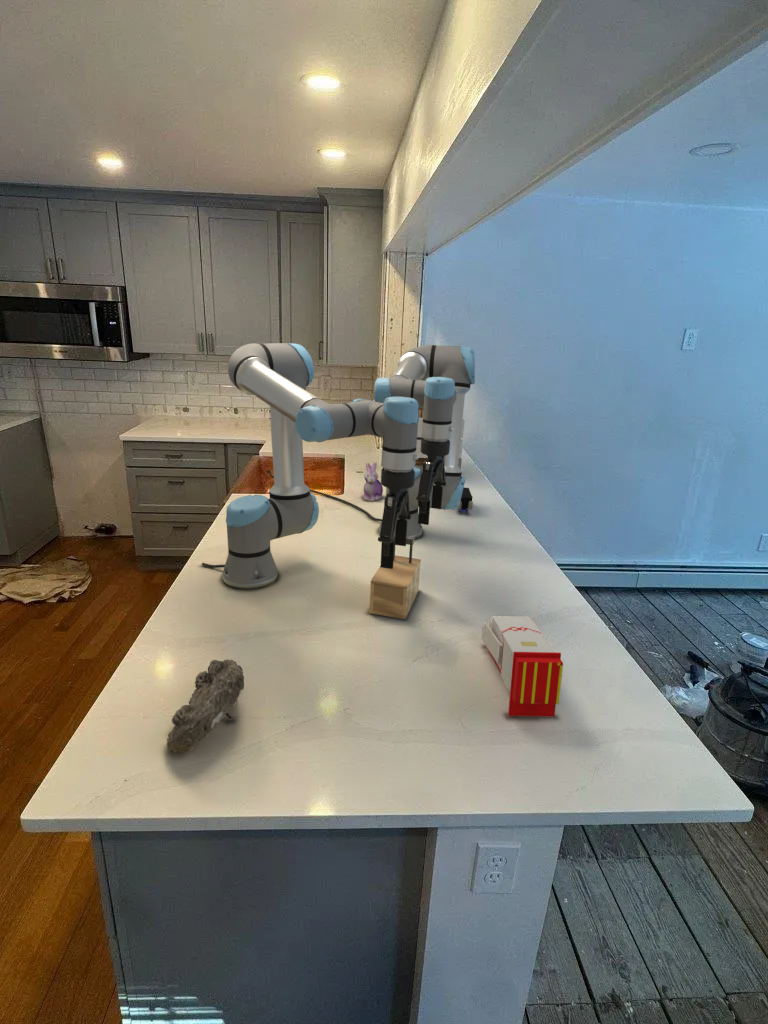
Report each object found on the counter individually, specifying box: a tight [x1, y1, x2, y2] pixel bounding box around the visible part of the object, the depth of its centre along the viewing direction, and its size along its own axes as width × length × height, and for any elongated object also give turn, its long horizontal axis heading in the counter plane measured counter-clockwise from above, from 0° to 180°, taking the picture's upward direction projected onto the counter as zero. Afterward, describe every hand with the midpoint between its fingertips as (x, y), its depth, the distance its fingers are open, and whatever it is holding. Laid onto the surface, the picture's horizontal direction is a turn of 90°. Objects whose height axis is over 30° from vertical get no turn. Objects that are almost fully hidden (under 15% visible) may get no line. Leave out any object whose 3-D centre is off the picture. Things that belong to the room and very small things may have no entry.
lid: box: [370, 534, 422, 589], centre depth 150 cm, size 17×10×8 cm, turn 165°
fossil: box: [166, 658, 245, 754], centre depth 106 cm, size 22×10×15 cm
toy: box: [481, 615, 564, 718], centre depth 123 cm, size 12×13×30 cm
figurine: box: [362, 461, 384, 502], centre depth 233 cm, size 9×10×15 cm
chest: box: [369, 564, 421, 620], centre depth 152 cm, size 16×10×9 cm, turn 165°
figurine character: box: [456, 487, 474, 514], centre depth 226 cm, size 7×8×15 cm
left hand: (393, 555), depth 133 cm, fingers open, 13 cm apart
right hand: (430, 515), depth 154 cm, fingers open, 13 cm apart
